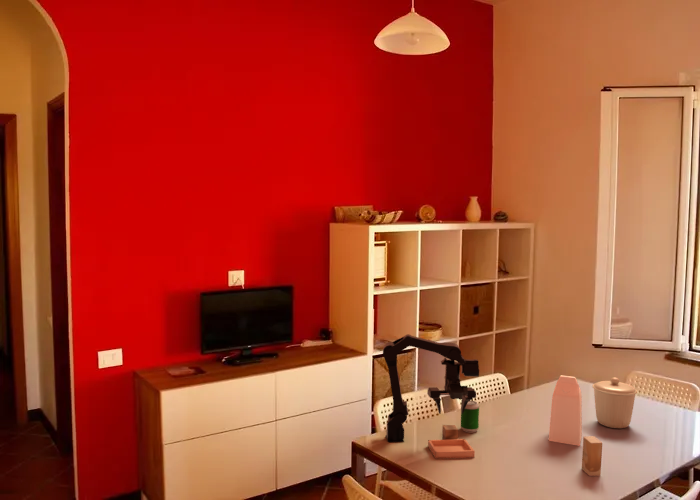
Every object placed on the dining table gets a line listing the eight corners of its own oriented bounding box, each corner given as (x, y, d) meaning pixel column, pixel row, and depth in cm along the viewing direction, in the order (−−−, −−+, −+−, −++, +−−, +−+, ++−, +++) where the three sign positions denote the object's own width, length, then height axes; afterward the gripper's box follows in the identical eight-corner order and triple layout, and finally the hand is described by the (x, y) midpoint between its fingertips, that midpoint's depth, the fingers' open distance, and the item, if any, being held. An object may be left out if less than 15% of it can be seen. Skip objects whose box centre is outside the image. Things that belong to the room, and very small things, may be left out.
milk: (581, 436, 249) (584, 375, 247) (579, 445, 238) (582, 382, 237) (551, 431, 254) (553, 371, 252) (548, 440, 244) (550, 378, 242)
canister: (590, 428, 258) (592, 380, 257) (591, 415, 275) (592, 370, 274) (637, 434, 252) (639, 385, 250) (634, 420, 268) (636, 374, 267)
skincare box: (581, 468, 217) (582, 435, 216) (592, 468, 217) (593, 435, 216) (589, 476, 210) (591, 442, 210) (601, 476, 211) (602, 442, 210)
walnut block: (445, 444, 238) (445, 429, 238) (442, 439, 243) (442, 425, 243) (457, 444, 239) (458, 429, 238) (454, 439, 244) (454, 425, 243)
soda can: (478, 434, 250) (479, 406, 249) (460, 432, 251) (461, 404, 250) (478, 427, 257) (479, 400, 256) (460, 426, 258) (461, 399, 258)
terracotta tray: (435, 458, 224) (435, 452, 224) (428, 446, 236) (428, 440, 236) (474, 457, 225) (474, 451, 225) (464, 445, 237) (465, 439, 237)
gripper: (434, 381, 230) (433, 420, 231) (481, 381, 232) (479, 420, 233) (427, 373, 241) (426, 411, 242) (472, 373, 243) (471, 410, 244)
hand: (450, 413), depth 240 cm, fingers open, 9 cm apart
